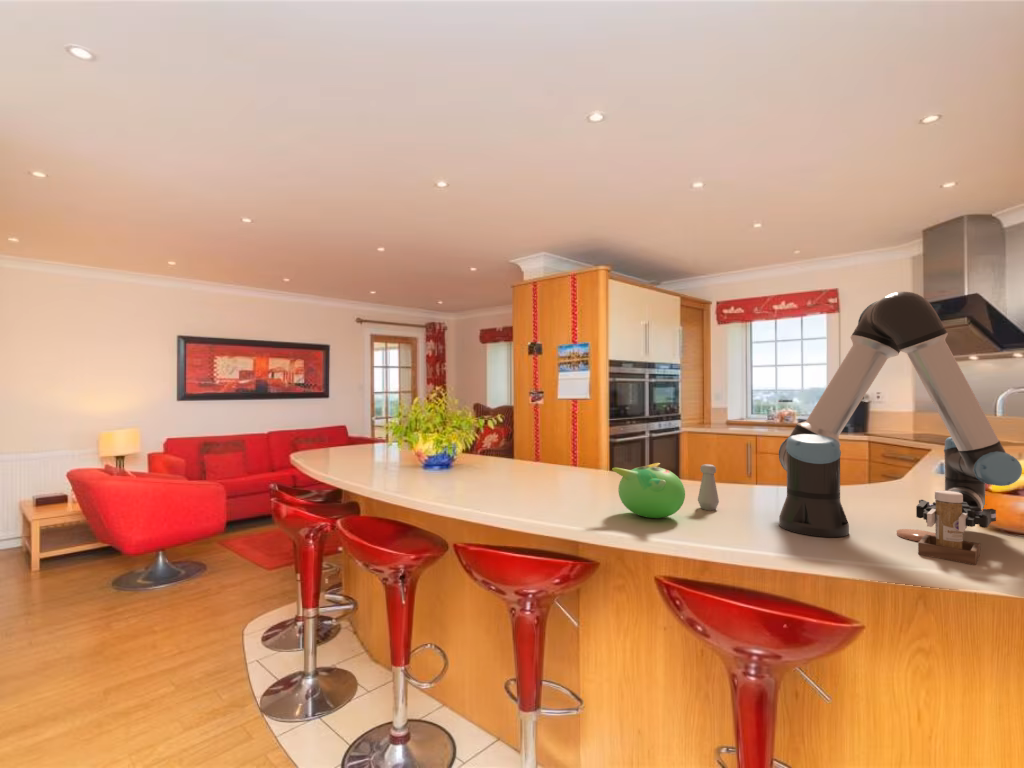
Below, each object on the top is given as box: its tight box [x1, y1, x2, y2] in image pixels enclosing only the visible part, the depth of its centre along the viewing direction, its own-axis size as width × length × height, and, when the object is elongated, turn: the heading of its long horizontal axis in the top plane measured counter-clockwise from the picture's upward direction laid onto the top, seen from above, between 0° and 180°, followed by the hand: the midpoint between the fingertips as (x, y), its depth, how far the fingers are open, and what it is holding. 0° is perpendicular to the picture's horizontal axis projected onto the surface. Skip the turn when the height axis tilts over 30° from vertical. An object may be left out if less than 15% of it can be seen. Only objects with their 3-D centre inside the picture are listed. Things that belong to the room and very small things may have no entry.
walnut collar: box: [917, 535, 981, 566], centre depth 107 cm, size 9×9×2 cm
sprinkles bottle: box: [934, 490, 964, 549], centre depth 107 cm, size 5×5×13 cm
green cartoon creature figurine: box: [611, 462, 686, 519], centre depth 138 cm, size 18×17×15 cm
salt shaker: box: [697, 463, 720, 511], centre depth 149 cm, size 6×6×13 cm
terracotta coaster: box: [896, 528, 936, 543], centre depth 120 cm, size 9×9×1 cm
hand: (945, 522), depth 103 cm, fingers closed on sprinkles bottle, 4 cm apart
